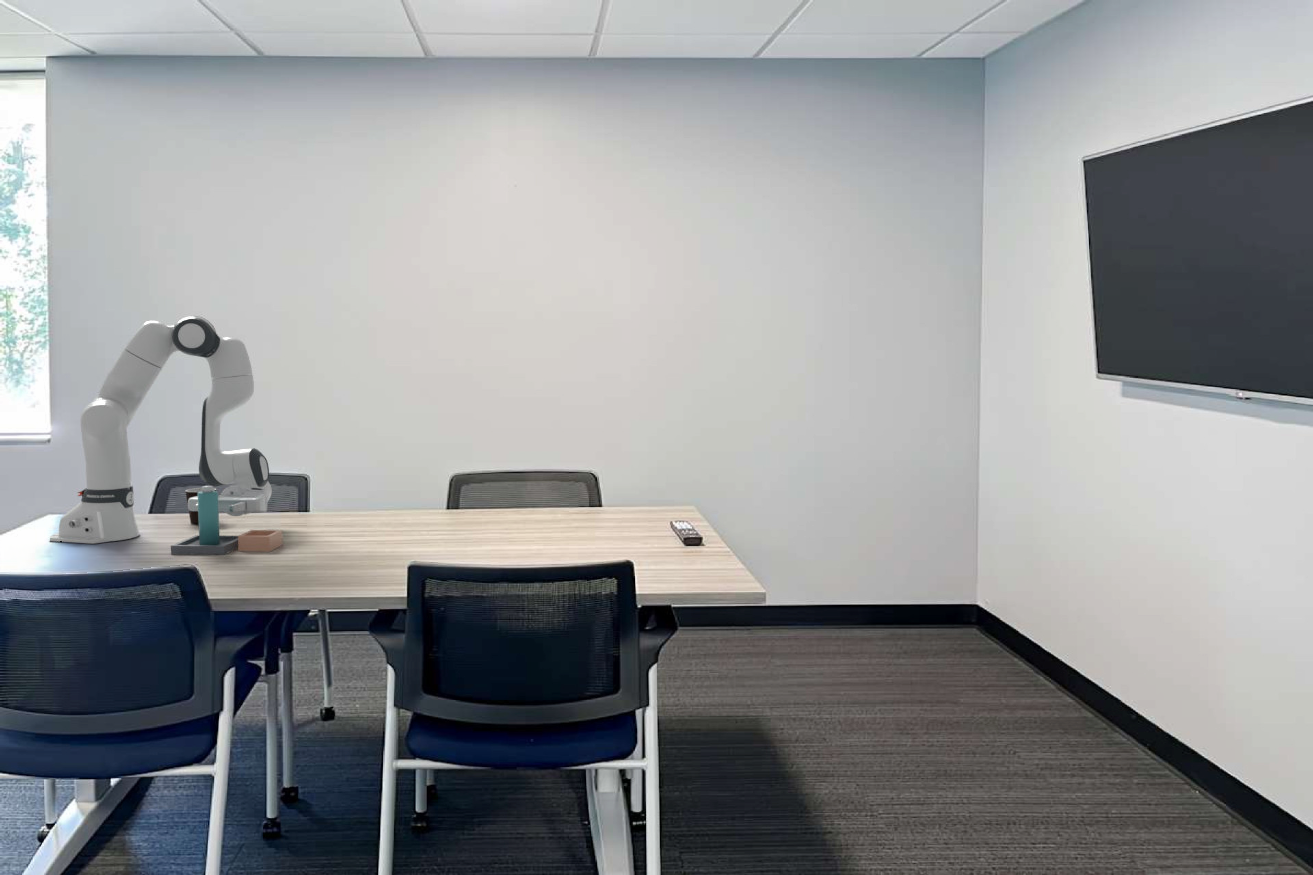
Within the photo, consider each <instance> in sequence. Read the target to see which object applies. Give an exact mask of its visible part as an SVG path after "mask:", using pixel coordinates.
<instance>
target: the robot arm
mask: <svg viewBox="0 0 1313 875" xmlns="http://www.w3.org/2000/svg"><path fill="white" fill-rule="evenodd" d="M176 352H181V353H183V354H186V355H188V356H192V357H193V356H194V357H200V358H204V359H205V360H206V361H207V363H208V366H209V369H210V378H211V387H210V388H211V389H210V393H209V395H208V396H207V397H206V398H205V399H204V401H203V403H202V410H201V432H200V433H201V435H200V436H201V439H200V441H201V443H200V444H201V445H200V446H201V447H200V455H199V456H200V458H199V463H198V474H199V477H200V479H201V480H202V481H203V482H204V483H205V484H207V486H213V488H216V487H221V486H226V485H229V486H227V487H225V488H224V489H223V490H222V492H221V493H220V494H218V508H219V513H220V512H224V513H225V514H227V515H229V516H231V517H241V516H244V515H248V514H258V513H260V514H261V513H266V512H267V511H268V502H269V500H270V498H271V496H272V493H273V492H272V491H273V490H272V485H271V483H270V482H269V478H270V468H269V462H268V460H267V457H266V456H265V455H264V454H263V452H261V451H260V450H259V449H257V448H243V449H242V448H241V449H237V450H226V451H224V450H223V451H222V450H221V448H220V447H221V446H220V444H221V422H222V420H223V419H224V417H225V416H226V415H227V414H229V413H230V412H232V411H235V410H236V409H238V408H240V407H242V406H244V405H245V404H246V403H247V402H248V401H249V400H250V399H251V398H252V396H253V394H254V390H255V383H254V382H255V381H254V375H253V370H252V364H251V361H250V356H249V354H248V350H247V348H246V345H245V343H244V342H243V341H242V340H241V339H238V338H235V337H229V336H228V337H223V336H222V337H221V336H219V335H218V334H217V331H216V328H215V327H214V325H213V324H212V323H211V321H209V320H208V319H207V318H204V317H202V316H200V315H199V316H198V315H190V316H186V317H183V318H181V319H180V320H178V321H177V322H176V323H175V324H174V325H167V324H165V323H163V322H161V321H157V320H149V321H148V320H147V321H146V322H144V323H142V325H141V326H140V327H139V328H138V329H137V330H136V331H135V332H134V334H133V335H132V336H131V337H130V339H129V340H128V342H126V344H125V346H124V348H123V349H122V351H121V353H120V354H119V355H118V357H117V359H116V360H115V362H114V364H112V367H111V368H110V370H109V371H108V374H107V375H106V377H105V379H104V381H103V382H102V385H101V387H100V388H99V390H98V392H97V394H96V395H95V397H94V399H93V400H92V402H90V403H89V404H87V405H86V406H85V407H84V409H83V410H82V412H81V414H80V430H81V438H82V440H81V441H82V446H83V452H84V459H85V475H86V477H85V478H86V488H84V489H82V490H81V491H77V494H78V495H77V497H81V500H80V502H79V503H78V504H76V505H75V506H74V507H73V508H70V510H69V511H67V512H66V513H65V514H64V515H62V516H61V518H60V519H59V524H58V532H56V533H54V534H52V535H50V537H49V541H50V542H60V541H62V543H78V544H79V543H80V544H100V543H107V542H116V541H124V540H128V539H129V540H130V539H133V538H134V539H135V538H136V537H138V536H140V534H141V533H140V531H139V528H138V525H137V520H136V517H135V511H134V504H135V503H134V502H135V499H134V497H135V496H134V494H135V493H134V487H133V485H132V474H131V473H132V469H131V457H130V451H129V441H128V432H127V428H128V427H129V425H130V423H131V422H132V420H133V418H134V416H135V414H136V413H137V411H138V410H139V409H140V406H141V404H142V402H143V401H144V399H145V398H146V395H147V394H148V392H149V390H150V389H151V387H152V386H153V384H154V383H155V381H156V379H157V378H158V376H159V375H160V373H161V372H162V370H163V368H164V366H165V365H166V363H167V361H168V360H169V358H170V357H171V356H172V355H173V354H174V353H176ZM188 508H189V510H190V511H198V496H196V497H192V498H189V499H188V504H187V509H188ZM189 510H188V511H189Z"/></svg>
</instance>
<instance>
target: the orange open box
mask: <svg viewBox="0 0 1313 875" xmlns="http://www.w3.org/2000/svg"><path fill="white" fill-rule="evenodd" d="M237 536H238V548H237V549H238V550H237V551H238V552H272V551H274V550H276V549H278V548H279V547H281V546H283V530H280V529H279V530H275V529H273V530H270V529H250V530H249V531H246V532H244V533H242V534H240V535H237ZM275 548H276V549H275Z"/></svg>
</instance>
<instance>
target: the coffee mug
mask: <svg viewBox="0 0 1313 875" xmlns="http://www.w3.org/2000/svg"><path fill="white" fill-rule="evenodd" d="M213 491H217V488H216V487H213ZM184 492H185V496H186V502H187V503H186V504H187V505H188V499H189V498H192V497H196V496H198V492H202V487H196V488H189V489H186V490H185V491H184ZM187 509H188V514H189V520H190V524H191V525H197V526H199V518H198V511H190V510H189V508H188V507H187Z"/></svg>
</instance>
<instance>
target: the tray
mask: <svg viewBox="0 0 1313 875" xmlns="http://www.w3.org/2000/svg"><path fill="white" fill-rule="evenodd" d="M238 536H239V535H220V544H219V545H200V544H199V534H196V535H193V536H191V537H188V538H186V539H184V540H181V541H179V542H176V543H174V544H172V545H170V554H171V555H207V554H210V555H212V554H224V555H226V553H227V554H228V552H229V553H230V552H232V550H233V551H235V550H237V549H238ZM236 548H237V549H236Z"/></svg>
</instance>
